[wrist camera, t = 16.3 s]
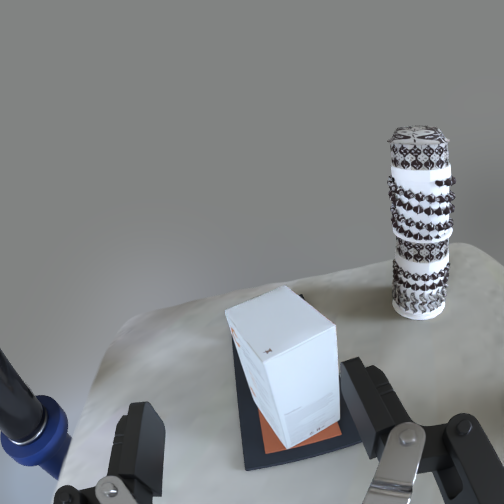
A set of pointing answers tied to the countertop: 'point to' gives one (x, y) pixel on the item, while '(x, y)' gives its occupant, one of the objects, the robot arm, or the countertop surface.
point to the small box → (288, 362)
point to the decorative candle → (420, 220)
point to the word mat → (266, 441)
